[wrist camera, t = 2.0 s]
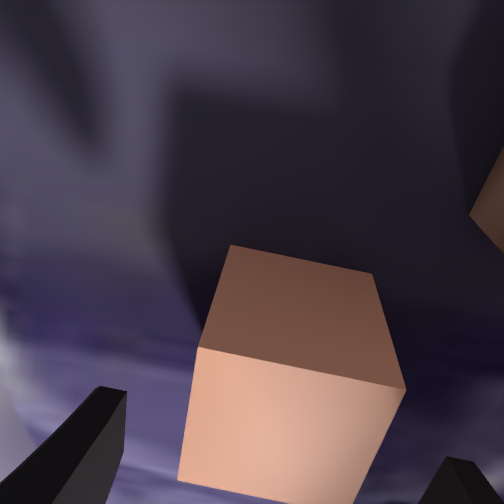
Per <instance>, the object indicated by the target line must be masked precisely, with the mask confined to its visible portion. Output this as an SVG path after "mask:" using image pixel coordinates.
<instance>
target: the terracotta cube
mask: <svg viewBox="0 0 504 504" xmlns="http://www.w3.org/2000/svg"><path fill="white" fill-rule="evenodd" d="M405 392H406V387H405V383H404V380H403V377H402V373H401V370H400V367H399V363H398V360H397V356H396V353H395V350H394V346H393V343H392V339H391V336H390V333H389V329H388V326H387V323H386V319H385V316H384V312H383V309H382V306H381V302H380V299H379V296H378V292H377V289H376V285H375V282H374V279H373V275H372V274H371V273H366V272H361V271H356V270H351V269H346V268H341V267H337V266H332V265H327V264H322V263H317V262H312V261H308V260H303V259H298V258H293V257H288V256H283V255H278V254H274V253H269V252H264V251H259V250H254V249H249V248H245V247H240V246H235V245H230V248H229V251H228V254H227V257H226V260H225V264H224V267H223V270H222V273H221V276H220V279H219V282H218V286H217V289H216V292H215V295H214V298H213V301H212V305H211V308H210V311H209V314H208V317H207V320H206V323H205V327H204V330H203V333H202V336H201V339H200V342H199V345H198V350H197V357H196V363H195V369H194V376H193V382H192V389H191V395H190V401H189V408H188V414H187V420H186V427H185V433H184V440H183V446H182V452H181V459H180V465H179V471H178V478H177V480H179V481H184V482H188V483H193V484H198V485H203V486H208V487H212V488H217V489H222V490H227V491H232V492H237V493H241V494H246V495H251V496H256V497H261V498H265V499H270V500H275V501H280V502H285V503H290V504H353V502H354V500H355V498H356V496H357V494H358V492H359V489H360V487H361V485H362V483H363V481H364V479H365V477H366V475H367V472H368V470H369V468H370V466H371V464H372V462H373V460H374V458H375V456H376V453H377V451H378V449H379V447H380V445H381V443H382V441H383V439H384V437H385V434H386V432H387V430H388V428H389V426H390V424H391V422H392V420H393V417H394V415H395V413H396V411H397V409H398V407H399V405H400V403H401V401H402V398H403V396H404V394H405Z"/></svg>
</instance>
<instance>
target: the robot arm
mask: <svg viewBox="0 0 504 504" xmlns="http://www.w3.org/2000/svg"><path fill="white" fill-rule="evenodd" d="M126 401H127V391H123V390H118V389H113V388H108V387H103V386H99V387H97V388H95V389H94V390H93V392H92V393H91V394H90V395H89V396H88V397H87V398H86V399H85V400H84V402H83V403H82V404H81V405H80V406H79V407H78V408H77V409H76V410H75V411H74V412H73V413H72V414H71V415H70V416H69V417H68V418H67V419H66V421H65V422H64V423H63V424H62V425H61V426H60V427H59V428H58V429H57V430H56V431H55V432H54V433H53V434H52V435H51V436H50V437H49V438H48V439H47V440H46V441H44V442H43V443H42V444H41V445H40V446H39V447H38V448H37V449H36V450H35V451H34V452H33V453H32V454H31V455H30V456H29V457H28V458H27V459H26V460H25V461H23V462H22V464H20V465H19V466H18V467H17V468H16V469H15V470H14V471H13V472H12V473H11V474H9V475H8V476H7V477H6V478H5V479H4V480H3V481H1V483H0V504H105V503H106V500H107V498H108V495H109V492H110V489H111V487H112V484H113V481H114V478H115V475H116V472H117V470H118V467H119V464H120V461H121V458H122V455H123V452H124V435H125V418H126ZM418 504H504V502H503V501H502V500H501V498H500V497H499V496H498V494H497V493H496V491H495V490H494V489H493V487H492V486H491V485H490V483H489V482H488V481H487V479H486V478H485V476H484V475H483V474H482V472H481V471H480V470H479V469H478V467H477V466H476V465H475V463H474V462H472V461H467V460H462V459H457V458H452V457H447V456H446V458H445V459H444V461H443V463H442V464H441V466H440V468H439V469H438V471H437V473H436V475H435V476H434V478H433V480H432V481H431V483H430V485H429V486H428V488H427V490H426V491H425V493H424V495H423V496H422V498H421V500H420V501H419V503H418Z"/></svg>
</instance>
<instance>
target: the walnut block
mask: <svg viewBox="0 0 504 504" xmlns="http://www.w3.org/2000/svg"><path fill="white" fill-rule="evenodd" d="M469 216H470V217H471V218H472V219H473V220H474V222H475V223H476V224H477V225H478V226H479V227H480V228H481V229H482V230H483V232H484V233H485V234H486V235H487V236H488V237H489V238H490V239H491V240H492V242H493V243H494V244H495V245H496V246H497V247H498V248H499V249H500V251H501V252H502V253H503V254H504V146H503V148H502V150H501V152H500V154H499V156H498V158H497V160H496V162H495V164H494V166H493V168H492V170H491V172H490V174H489V176H488V178H487V180H486V182H485V184H484V186H483V188H482V190H481V192H480V194H479V196H478V198H477V200H476V202H475V204H474V206H473V208H472V210H471V212H470V214H469Z"/></svg>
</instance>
